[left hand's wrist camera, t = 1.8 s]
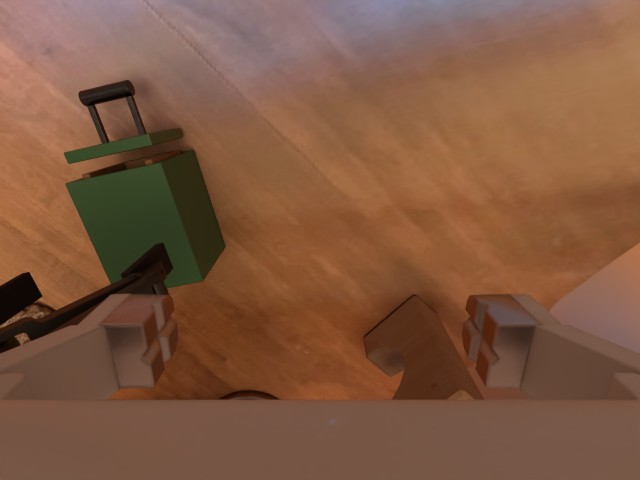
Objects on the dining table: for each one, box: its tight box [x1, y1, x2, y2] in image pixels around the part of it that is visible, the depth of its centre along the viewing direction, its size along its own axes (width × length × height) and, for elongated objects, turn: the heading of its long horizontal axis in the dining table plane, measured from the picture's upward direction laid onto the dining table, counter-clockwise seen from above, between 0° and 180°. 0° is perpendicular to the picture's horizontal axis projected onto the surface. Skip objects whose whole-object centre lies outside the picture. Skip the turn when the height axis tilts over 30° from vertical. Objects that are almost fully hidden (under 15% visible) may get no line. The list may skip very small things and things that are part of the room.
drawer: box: [64, 80, 182, 179], centre depth 44 cm, size 19×9×9 cm, turn 12°
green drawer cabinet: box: [66, 150, 225, 288], centre depth 46 cm, size 14×11×11 cm
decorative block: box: [364, 296, 484, 400], centre depth 48 cm, size 11×6×20 cm, turn 135°
